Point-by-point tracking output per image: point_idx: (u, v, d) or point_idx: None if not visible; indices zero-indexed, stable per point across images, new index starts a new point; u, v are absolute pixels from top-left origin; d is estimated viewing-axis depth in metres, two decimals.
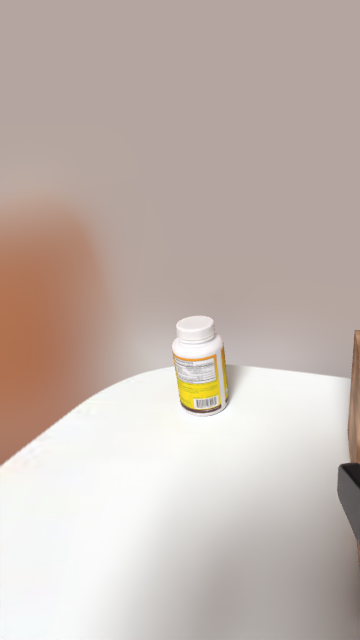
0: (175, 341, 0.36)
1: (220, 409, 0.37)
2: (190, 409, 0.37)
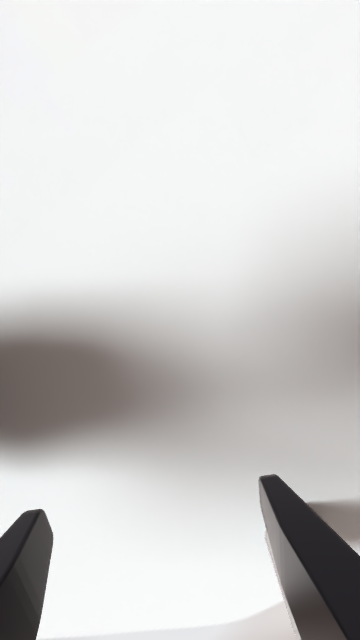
0: None
1: None
2: None
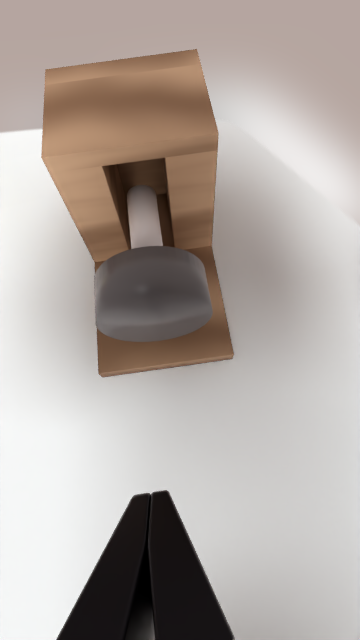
0: None
1: None
2: None
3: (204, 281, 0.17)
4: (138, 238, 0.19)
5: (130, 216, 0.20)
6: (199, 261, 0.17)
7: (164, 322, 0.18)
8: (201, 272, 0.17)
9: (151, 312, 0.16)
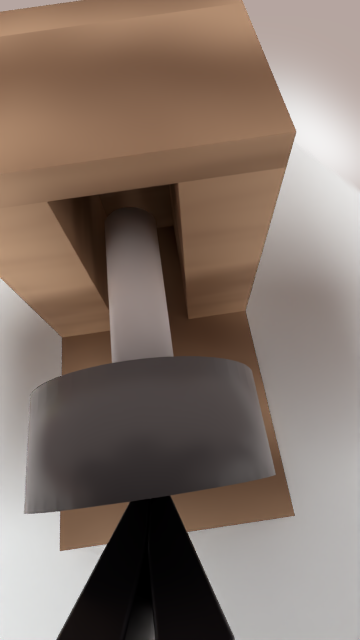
0: None
1: None
2: None
3: (259, 417, 0.08)
4: (122, 311, 0.10)
5: (109, 265, 0.11)
6: (247, 371, 0.08)
7: None
8: (253, 398, 0.08)
9: None
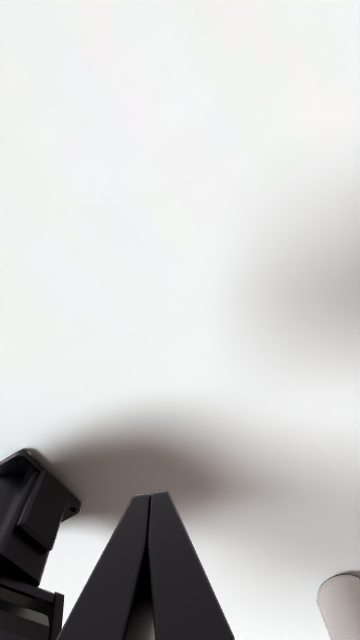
0: None
1: None
2: None
3: None
4: None
5: None
6: None
7: None
8: None
9: None
